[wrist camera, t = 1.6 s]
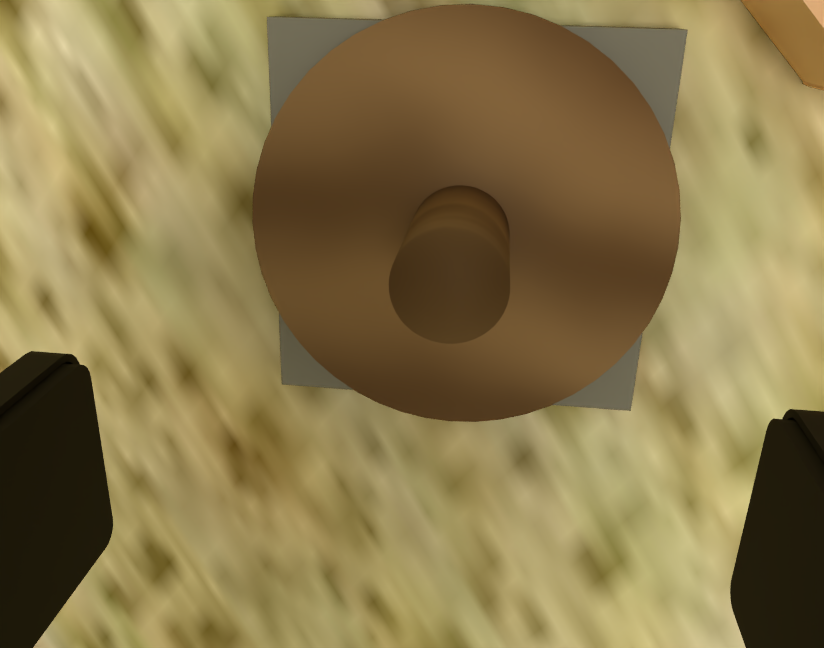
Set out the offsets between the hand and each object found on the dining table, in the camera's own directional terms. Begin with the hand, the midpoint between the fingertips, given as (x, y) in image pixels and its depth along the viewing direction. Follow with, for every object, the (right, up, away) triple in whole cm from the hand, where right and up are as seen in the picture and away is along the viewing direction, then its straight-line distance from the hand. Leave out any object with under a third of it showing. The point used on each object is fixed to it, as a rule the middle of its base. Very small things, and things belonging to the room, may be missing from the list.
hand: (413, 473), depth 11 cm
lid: (+2, +5, +14) cm, 15 cm away
